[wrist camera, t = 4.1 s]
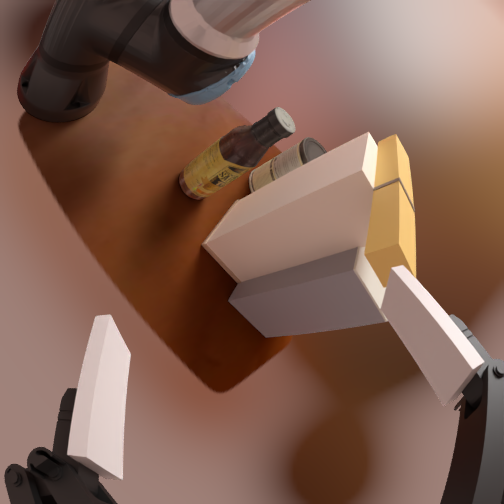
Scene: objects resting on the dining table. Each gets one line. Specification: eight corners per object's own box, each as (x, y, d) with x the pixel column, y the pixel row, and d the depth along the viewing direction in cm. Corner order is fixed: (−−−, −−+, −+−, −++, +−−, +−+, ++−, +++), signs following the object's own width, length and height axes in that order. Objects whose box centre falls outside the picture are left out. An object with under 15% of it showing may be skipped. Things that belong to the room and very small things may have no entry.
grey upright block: (265, 337, 49) (387, 321, 35) (227, 300, 46) (355, 269, 31) (288, 287, 57) (394, 258, 42) (256, 250, 54) (366, 208, 39)
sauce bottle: (187, 206, 45) (283, 143, 32) (171, 172, 45) (258, 98, 31) (215, 195, 50) (307, 139, 37) (199, 164, 49) (285, 100, 36)
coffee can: (278, 174, 65) (329, 147, 56) (286, 216, 63) (342, 192, 54) (244, 162, 58) (298, 129, 49) (252, 209, 56) (311, 179, 46)
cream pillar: (239, 285, 49) (399, 238, 30) (201, 244, 45) (360, 168, 27) (266, 238, 57) (399, 185, 38) (235, 200, 53) (368, 130, 35)
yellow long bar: (383, 288, 23) (417, 279, 21) (363, 253, 22) (399, 242, 19) (391, 164, 38) (409, 157, 36) (378, 141, 37) (396, 133, 35)
